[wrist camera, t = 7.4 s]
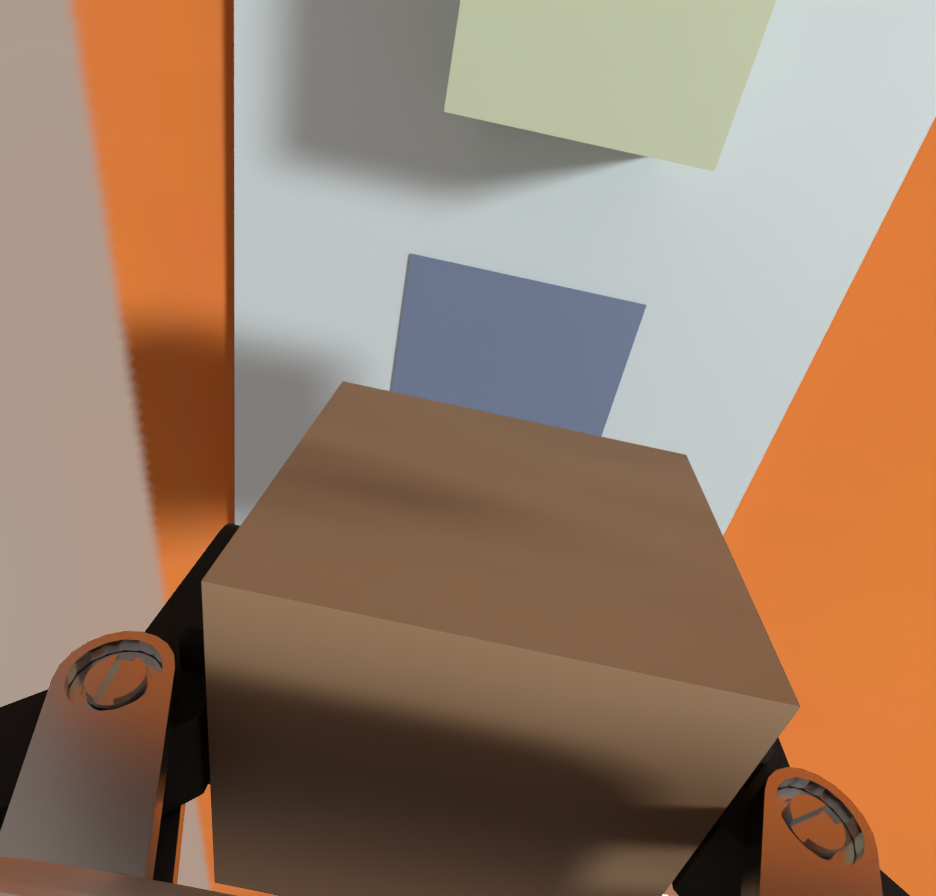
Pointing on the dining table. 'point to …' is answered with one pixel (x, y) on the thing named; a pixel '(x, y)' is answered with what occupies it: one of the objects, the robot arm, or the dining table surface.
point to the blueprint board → (552, 234)
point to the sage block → (609, 70)
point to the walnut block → (477, 662)
